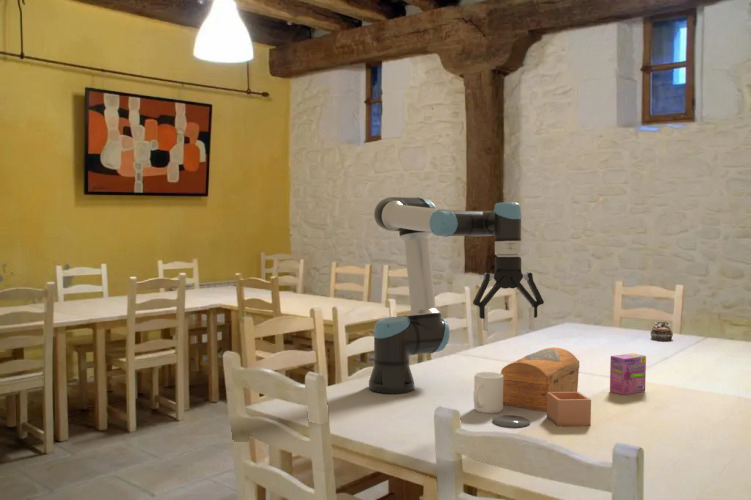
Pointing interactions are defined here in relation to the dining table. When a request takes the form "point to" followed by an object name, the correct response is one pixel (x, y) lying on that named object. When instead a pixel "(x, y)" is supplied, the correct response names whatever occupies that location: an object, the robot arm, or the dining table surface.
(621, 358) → the box
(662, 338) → the cupcake
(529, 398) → the wooden box
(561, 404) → the planter
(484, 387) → the mug
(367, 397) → the dining table surface
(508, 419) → the slate coaster
